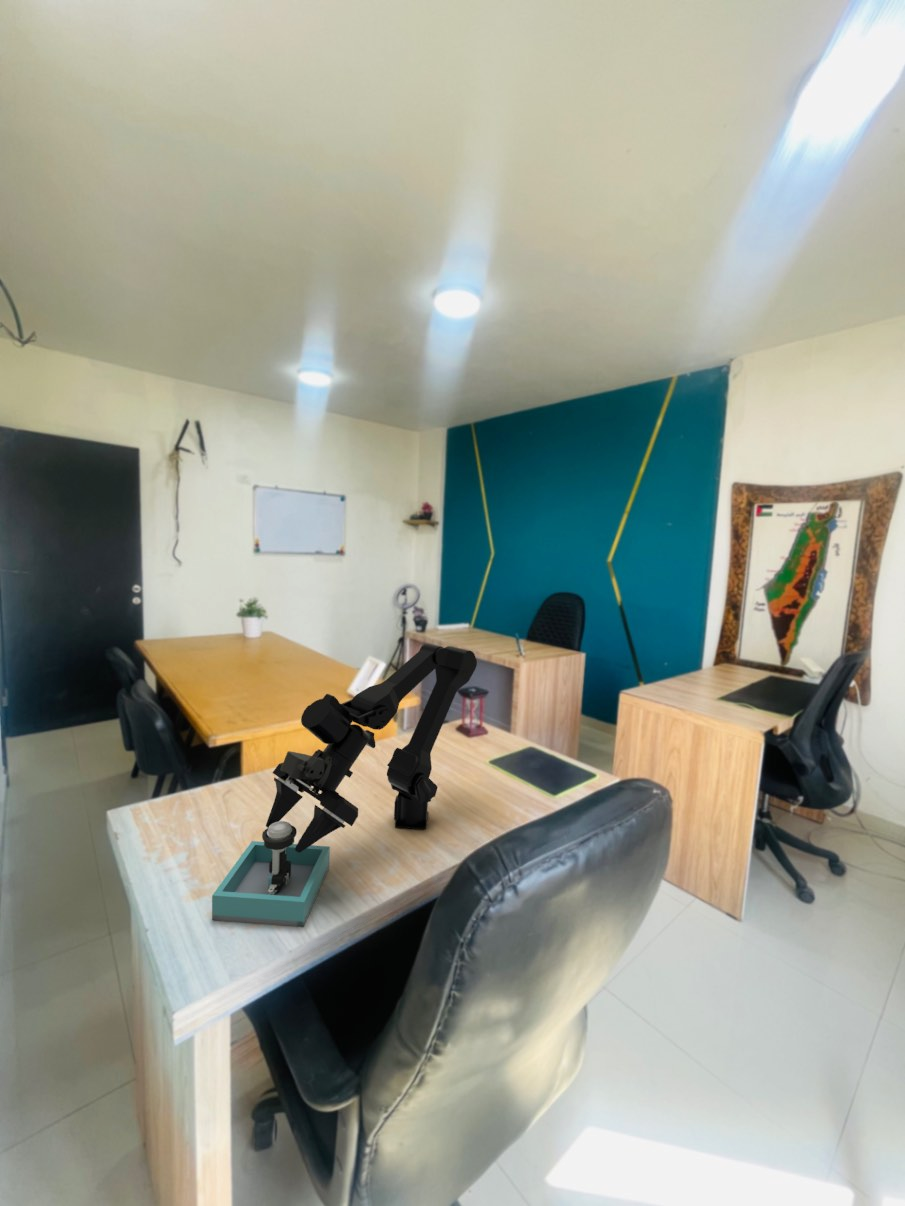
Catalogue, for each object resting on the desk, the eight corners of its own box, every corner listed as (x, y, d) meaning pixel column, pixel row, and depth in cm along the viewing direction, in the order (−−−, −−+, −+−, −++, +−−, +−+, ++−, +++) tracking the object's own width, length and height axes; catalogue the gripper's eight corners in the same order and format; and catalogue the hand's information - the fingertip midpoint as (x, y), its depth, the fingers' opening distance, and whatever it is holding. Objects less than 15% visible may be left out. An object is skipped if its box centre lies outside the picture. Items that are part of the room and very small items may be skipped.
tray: (329, 867, 89) (329, 846, 89) (303, 926, 75) (304, 902, 75) (251, 862, 89) (252, 841, 89) (212, 919, 76) (212, 895, 75)
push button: (285, 901, 79) (287, 842, 78) (252, 899, 79) (253, 840, 78) (299, 874, 86) (301, 819, 85) (269, 872, 86) (270, 817, 85)
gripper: (283, 718, 90) (221, 797, 83) (345, 750, 78) (279, 846, 71) (319, 748, 97) (266, 823, 90) (382, 782, 85) (325, 872, 78)
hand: (281, 839), depth 82 cm, fingers open, 9 cm apart
